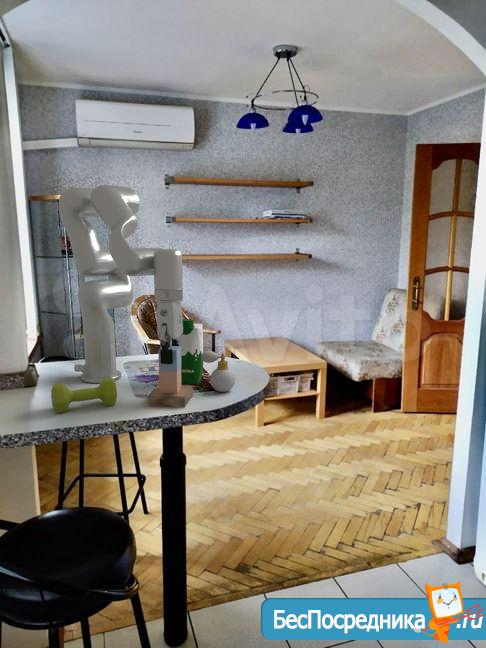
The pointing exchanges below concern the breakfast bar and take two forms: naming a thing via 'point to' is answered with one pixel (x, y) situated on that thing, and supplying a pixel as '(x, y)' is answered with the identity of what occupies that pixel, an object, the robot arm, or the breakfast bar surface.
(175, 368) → the slate block
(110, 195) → the robot arm
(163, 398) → the walnut base
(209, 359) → the perfume bottle
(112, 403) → the dumbbell
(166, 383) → the terracotta block
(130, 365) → the breakfast bar surface
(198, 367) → the milk carton
